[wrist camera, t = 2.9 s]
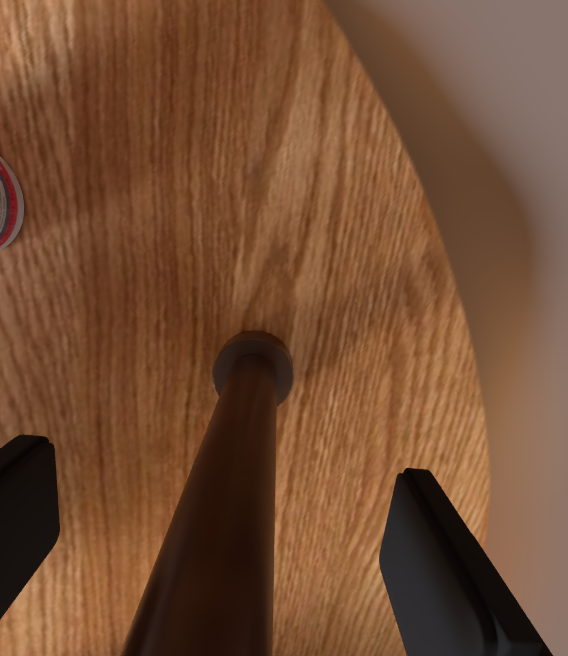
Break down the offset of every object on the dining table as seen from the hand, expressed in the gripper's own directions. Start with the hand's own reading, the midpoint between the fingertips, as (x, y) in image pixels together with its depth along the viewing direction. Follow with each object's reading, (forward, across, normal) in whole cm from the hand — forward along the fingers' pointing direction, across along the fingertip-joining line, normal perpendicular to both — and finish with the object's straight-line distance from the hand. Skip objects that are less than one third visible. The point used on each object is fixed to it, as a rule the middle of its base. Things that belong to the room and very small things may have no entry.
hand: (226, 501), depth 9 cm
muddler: (+10, 0, 0) cm, 10 cm away
